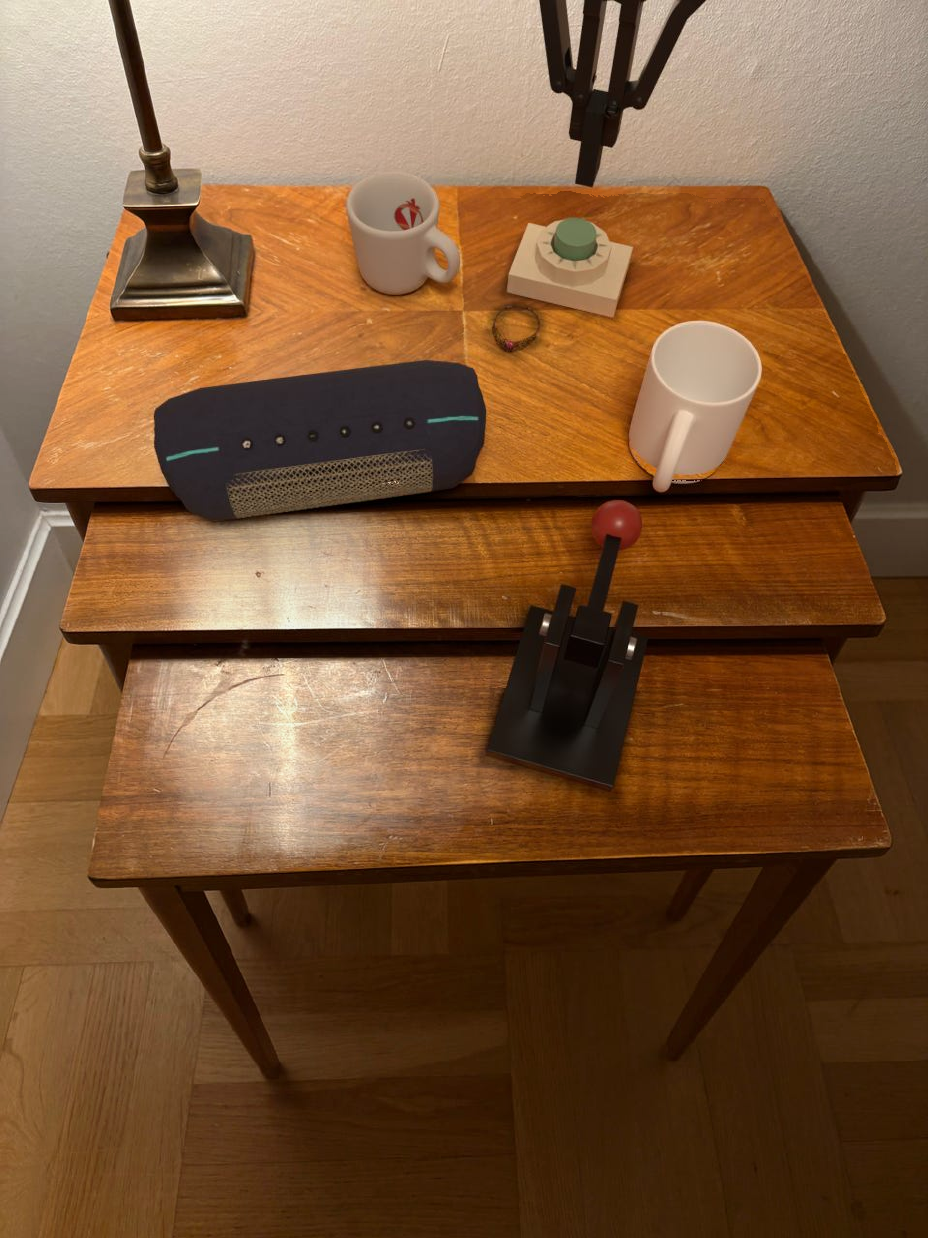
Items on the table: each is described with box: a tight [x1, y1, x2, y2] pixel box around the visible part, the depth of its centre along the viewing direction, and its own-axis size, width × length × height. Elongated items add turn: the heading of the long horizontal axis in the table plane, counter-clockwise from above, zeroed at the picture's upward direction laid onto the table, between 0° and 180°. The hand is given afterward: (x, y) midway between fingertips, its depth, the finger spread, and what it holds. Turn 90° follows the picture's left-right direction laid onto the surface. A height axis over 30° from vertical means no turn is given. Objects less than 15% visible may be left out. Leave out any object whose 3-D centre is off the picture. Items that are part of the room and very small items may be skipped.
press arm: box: [564, 499, 643, 668], centre depth 66 cm, size 14×4×4 cm, turn 163°
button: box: [554, 217, 597, 262], centre depth 87 cm, size 4×4×2 cm
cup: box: [345, 171, 461, 296], centre depth 86 cm, size 11×8×8 cm
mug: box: [628, 320, 763, 493], centre depth 76 cm, size 12×8×10 cm
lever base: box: [485, 583, 649, 793], centre depth 66 cm, size 12×9×12 cm
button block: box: [506, 219, 634, 319], centre depth 89 cm, size 10×7×4 cm
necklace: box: [491, 304, 541, 354], centre depth 87 cm, size 4×6×1 cm, turn 166°
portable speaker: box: [153, 359, 487, 522], centre depth 75 cm, size 25×10×10 cm, turn 101°
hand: (587, 174), depth 80 cm, fingers closed
